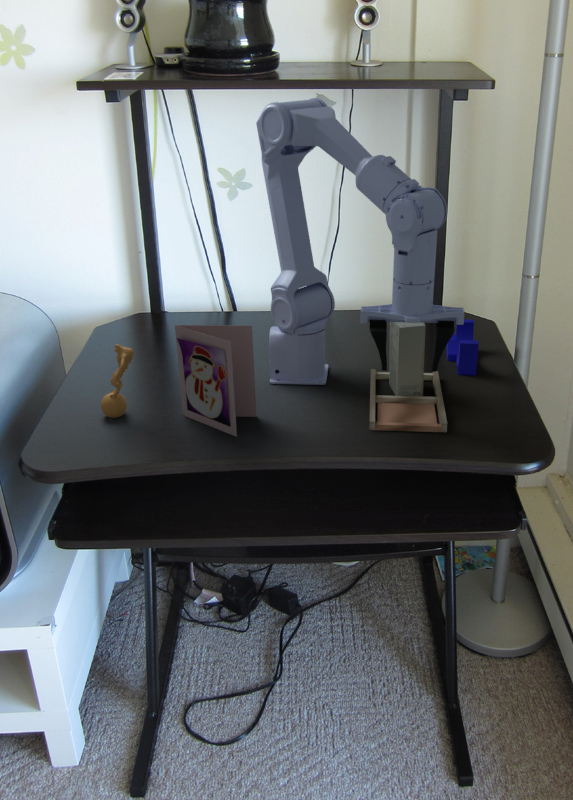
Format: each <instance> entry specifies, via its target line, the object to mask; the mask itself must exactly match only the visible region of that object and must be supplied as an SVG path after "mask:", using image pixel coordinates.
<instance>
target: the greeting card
mask: <svg viewBox="0 0 573 800" xmlns="http://www.w3.org/2000/svg"><path fill="white" fill-rule="evenodd" d="M174 330H175V331H174V332H175V340H176V342H175V343H176V351H177V362H178V372H179V381H180V391H181V392H180V394H181V402H182V403H181V404H182V413H183V416H184V417H187V418H189V419H191V420H193V421H197V422H199V423H201V424H204V425H207V426H208V427H211V428H214V429H216V430H219V431H221V432H224V433H226V434H228V435H231V436H233V437H236V438H238V433H237V431H238V430H237V417H239V418H240V417H241V418H242V417H248V418H251V417H252V418H256V417H257V403H256V401H257V400H256V399H257V398H256V382H255V359H254V357H255V356H254V345H253V344H254V343H253V342H254V341H253V340H254V339H253V325H243V324H242V325H238V324H237V325H235V324H234V325H230V324H229V325H224V324H223V325H221V324H220V325H219V324H215V325H211V324H209V325H208V324H205V325H204V324H192V325H191V324H188V325H187V324H174Z"/></svg>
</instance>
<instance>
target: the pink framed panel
mask: <svg viewBox="0 0 573 800" xmlns="http://www.w3.org/2000/svg"><path fill="white" fill-rule="evenodd" d="M376 380H389V371H388V372H387V371H386V372H385V371H376V369H375V368H371V369H370V387H369V388H370V389H369V390H370V391H369V396H370V397H369V426H368V427H369V431H386V432H387V431H389V432H390V431H391V432H392V431H393V432H394V431H395V432H421V433H423V432H424V433H447V432H448V420H447V414H446V409H445V403H444V397H443V392H442V386H441V382H440V381H441V380H440V376H439V371H438V370H437V371H436V372H431V373H430V372H424V378H423V381H432V385H433V390H434V396H424V395H423V396H396V395H384V394H383V395H382V394H381V395H379V394H378V395H377V394H376ZM376 404H377V421H376ZM435 405H436V407H435ZM436 411H437V413H436ZM437 414H438V415H437ZM437 416H438V419H437Z"/></svg>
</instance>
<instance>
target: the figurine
mask: <svg viewBox="0 0 573 800" xmlns="http://www.w3.org/2000/svg"><path fill="white" fill-rule="evenodd" d="M113 350H114V352H116V353H117V354H116V361H117V365H118V368H117V369H116V370H115V372H113V374H112V377H111V378H110V380H109V381H110V384H111V385H110V386H112V387H114V388H115V389H114V390H111V392H109V393H107V394H105V395H104V396H103V397H102V398H101V400H100V409H101V411H102V413H103V414H104V415H105V416H106V417H108V418H111V419H116V418H117V419H118V418H119V417H122V416H123V415H124V414H126V411H127V410H128V409H127V408H128V402H127V399H126V397H125V396H124V395H123V394H121V393H120V391H121V388H122V386H123V381H122V377H123V375H124V373H125V372H126V371H127V370H128V368H129V365H130V363H132V360H133V359H134V356H135V355H134V354H135V352H134V350H133V348H131V347H126V346H123V345H121V344H119V343H117V344H115V345H114V349H113Z"/></svg>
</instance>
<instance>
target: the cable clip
mask: <svg viewBox="0 0 573 800" xmlns="http://www.w3.org/2000/svg"><path fill="white" fill-rule="evenodd" d="M474 327H475V320H474V319H464V324H463V325H456V324H455V333H454V334H453V336H452V337H451V339H450V340H449V342H448V343H447V345H446V347H445V350H446V359H447V362H455V363H456V371H457V375H458V376H476V375H477V368H478V367H477V366H478V357H479V355H478V354H479V345H480V344H479V340H474V329H475V328H474Z"/></svg>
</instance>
